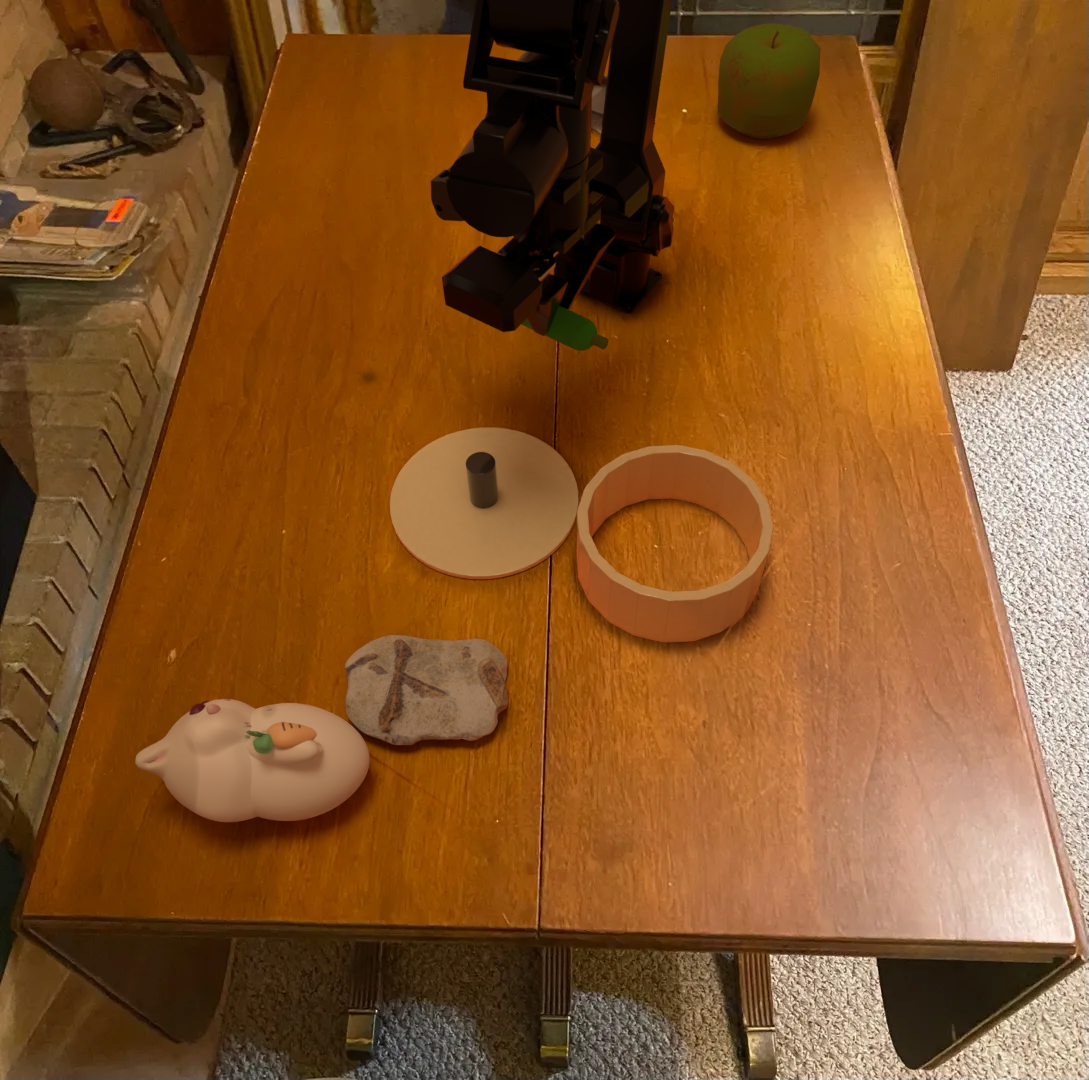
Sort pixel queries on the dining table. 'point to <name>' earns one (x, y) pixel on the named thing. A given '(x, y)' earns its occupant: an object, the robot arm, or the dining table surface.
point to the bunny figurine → (258, 761)
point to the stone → (426, 689)
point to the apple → (768, 80)
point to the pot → (685, 480)
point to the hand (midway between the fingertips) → (550, 322)
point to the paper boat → (598, 105)
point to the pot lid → (484, 503)
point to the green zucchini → (574, 330)
